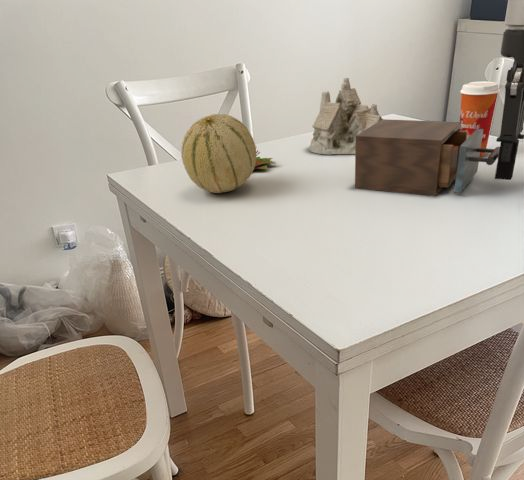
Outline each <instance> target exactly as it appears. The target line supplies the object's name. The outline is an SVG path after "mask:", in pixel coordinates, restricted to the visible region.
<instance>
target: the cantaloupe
mask: <svg viewBox="0 0 524 480" xmlns="http://www.w3.org/2000/svg"><path fill="white" fill-rule="evenodd" d="M181 144H182V145H181V152H180V153H181V160H182V164H183V166H184V167H183V168H184V169H185V171H186V173H187V175H188V178H189V179H190V180H191V181H192V182H193V183H194V184H195V185H196V186H197V187H198V188H200V189H201V190H204V191H206V192H208V193H209V192H211V193H214V194H222V193H230V192H232V191H234V190H237V189H239V188H240V187H241V186H243V185H244V184H245V183H246V182H247V181H248V179H250V178H251V176H252V174H253V172H254V170H255V169H254V167H255V164H256V157H257V156H256V155H257V153H256V152H257V146H255V145H256V143H255V141H254V138H253V136H252V134H251V132H250V131H249V129H248V128H247V126H246V125H245V124H244V123H243V122H242V121H241V120H239V119H237V118H236V117H234V116H232V115H229V114H224V113H223V114H221V113H212V114H209V115H206V116H203V117H201V118H200V119H198V120H196V121H195V122H194V123H192V125H191V126H190V127H189V128H188V130H187V131H186V133H185V134H184V136H183V140H182V142H181Z"/></svg>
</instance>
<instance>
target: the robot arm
mask: <svg viewBox="0 0 524 480" xmlns="http://www.w3.org/2000/svg"><path fill="white" fill-rule="evenodd" d="M504 25H505V26H506V27H507V29H505V30H504V31H503V34H502V40H501V47H500V55H501V56H502V57H503V58H513V59H514V60H513V63H512V66H511V67H510V69H508V70H507V73H506V80H505V81H506V83H505V85H504V103H503V110H502V116H501V117H502V118H501V125H500V134H499V136H498V137H497V138H496V142H498V143H500V145H499V147H500V150H499V156H498V158H497V163H496V169H495V175H494V180H503V181H504V180H505V181H511V180H512V179H513V175H514V171H515V165H516V159H517V153H518V149H519V143H520V140H524V134H521V133H523V130H524V0H507V5H506V12H505V19H504Z"/></svg>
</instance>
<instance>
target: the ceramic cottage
mask: <svg viewBox="0 0 524 480" xmlns="http://www.w3.org/2000/svg"><path fill="white" fill-rule="evenodd" d="M382 119H383V117H382V116H381V115H380V113H379V111H378V105H377V103H373V104H371V106H370V107H369V106H368V105H365V104H362V102H361V100H360V97H359V95H358V91H357V89H356V88H355V87H352V88H351V83H350V79H349V77H344V78H343V83H341V86H340V90H338V94H337V96H336V99H335V102H331V94H330V92H329V90H327V91H322V92H321V99H320V104H319V112H318V114H317V116H316V118H315V120H314V122H313V124H312V125H311V126H312V128H313V129H314V131H313V133H312V136H313V137H312V139H311V141H310V144H309V152H310V153H314V154H319V155H321V154H322V155H355V152H356V136H357V135H358V134H360V133H361V132H363V131H364V130H366V129H368V128H369V127H371V126H372V125H374V124H375V123H377V122H379V121H380V120H382Z"/></svg>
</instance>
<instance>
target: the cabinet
mask: <svg viewBox="0 0 524 480" xmlns="http://www.w3.org/2000/svg"><path fill="white" fill-rule="evenodd" d="M456 131H461V122H460V121H442V120H441V121H438V120H414V119H413V120H412V119H411V120H409V119H387V118H386V119H383V118H382V120H380V121H379V122H377V123H375V124H374V125H372V126H371V127H369V128H368V129H366V130H364V131H363V132H361V133H360V134H358V135H357V136H356V152H355V154H354V155H355V158H354V159H355V161H354V189H360V190H369V191H370V190H372V191H379V192H380V191H381V192H390V193H401V194H411V195H421V196H431V197H432V196H433V197H436V196H437V195H438V194H439V193H440V192H441V191H442V190H443V189H444V187H438V181H439V171H440V162H441V152H442V144H443V143H444V142H445V141H446V140H447V139H449V138H450V137H451V136H452V135H453V134H454V133H455V132H456Z"/></svg>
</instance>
